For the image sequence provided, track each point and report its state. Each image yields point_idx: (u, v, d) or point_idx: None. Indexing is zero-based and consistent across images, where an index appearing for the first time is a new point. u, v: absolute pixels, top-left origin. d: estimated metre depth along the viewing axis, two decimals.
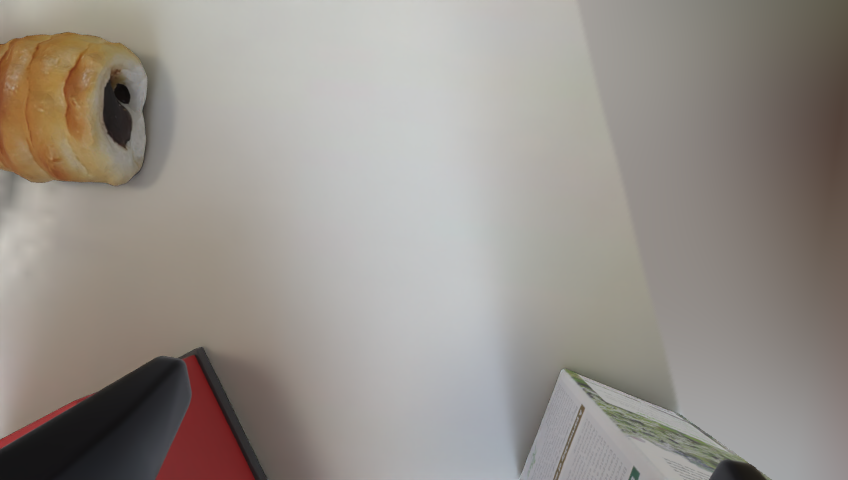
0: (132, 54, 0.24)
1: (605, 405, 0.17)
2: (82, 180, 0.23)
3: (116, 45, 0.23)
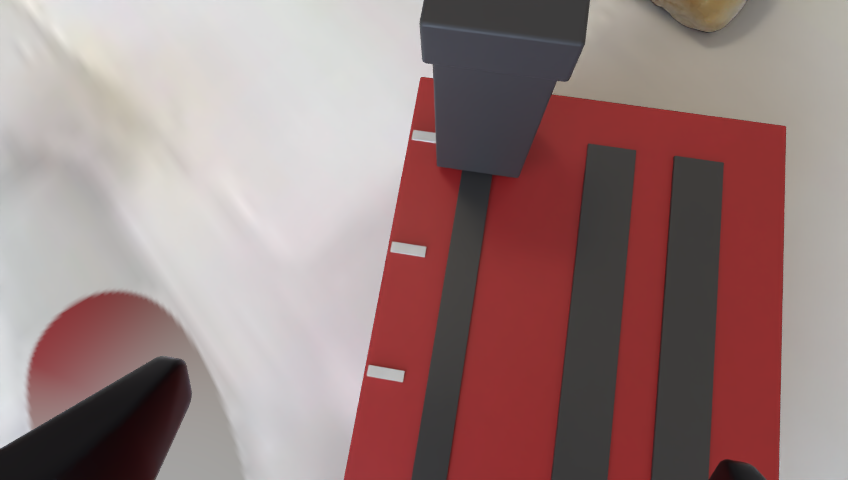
0: None
1: None
2: (695, 1, 0.24)
3: None
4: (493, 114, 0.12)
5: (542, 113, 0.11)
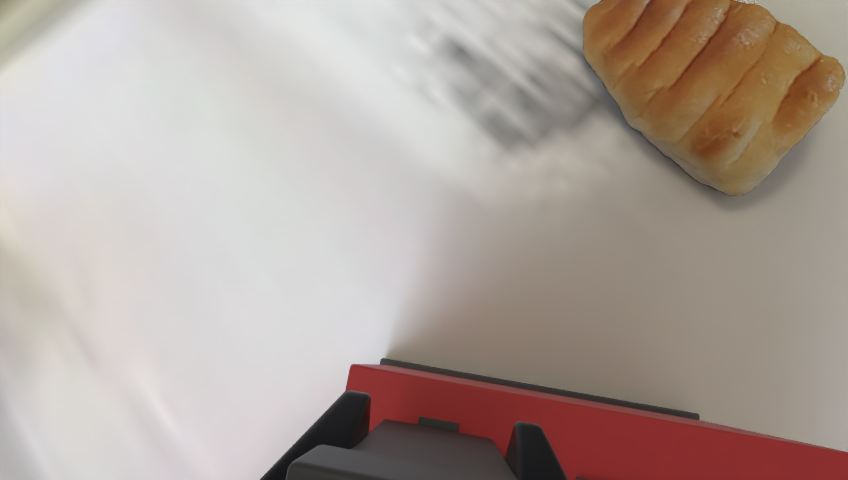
0: None
1: None
2: (713, 166, 0.19)
3: None
4: None
5: None
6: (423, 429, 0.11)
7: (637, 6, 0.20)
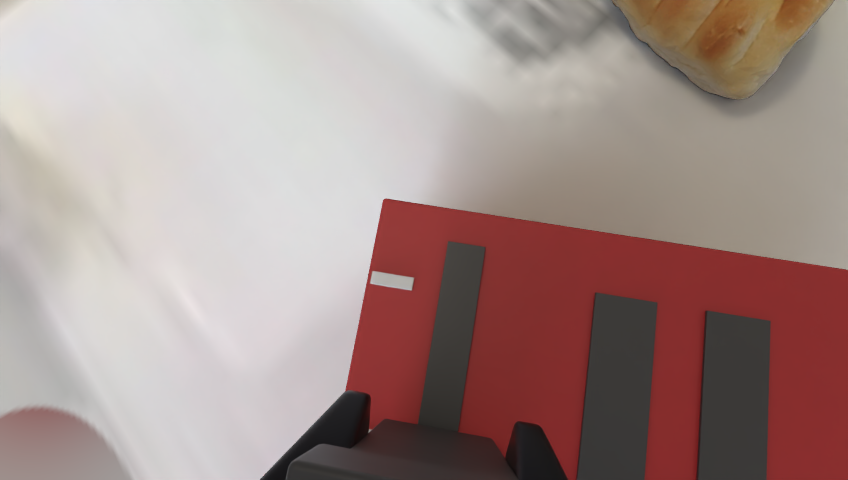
0: None
1: None
2: (718, 67, 0.20)
3: None
4: None
5: None
6: (423, 429, 0.11)
7: None
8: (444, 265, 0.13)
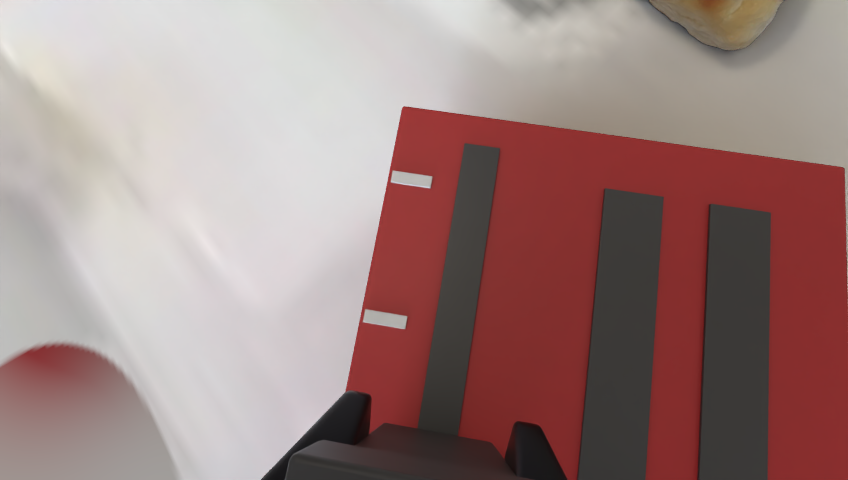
0: None
1: None
2: (717, 16, 0.21)
3: None
4: None
5: None
6: (423, 432, 0.11)
7: None
8: (461, 164, 0.13)
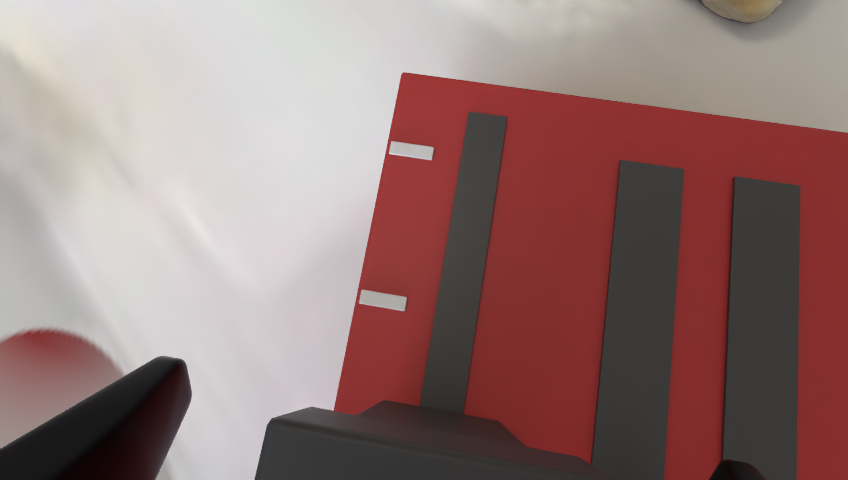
0: None
1: None
2: None
3: None
4: None
5: None
6: (425, 410, 0.10)
7: None
8: (465, 134, 0.12)
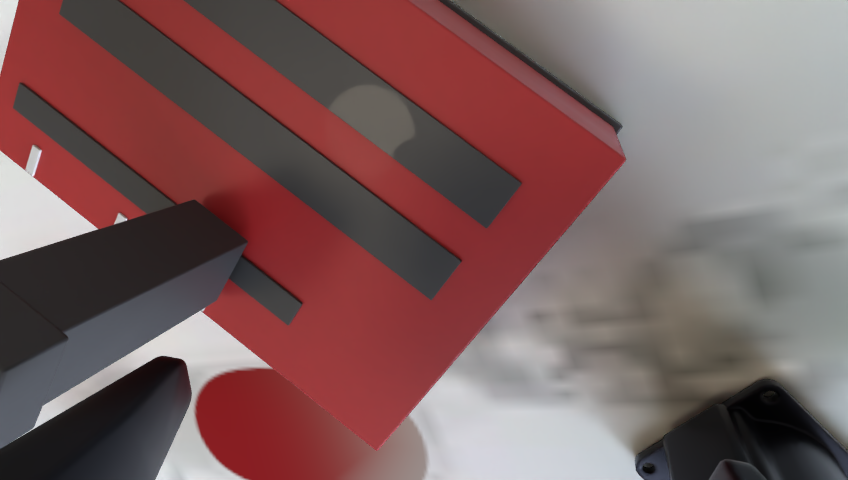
0: None
1: None
2: None
3: None
4: (131, 324, 0.12)
5: (133, 298, 0.11)
6: None
7: None
8: (27, 118, 0.16)
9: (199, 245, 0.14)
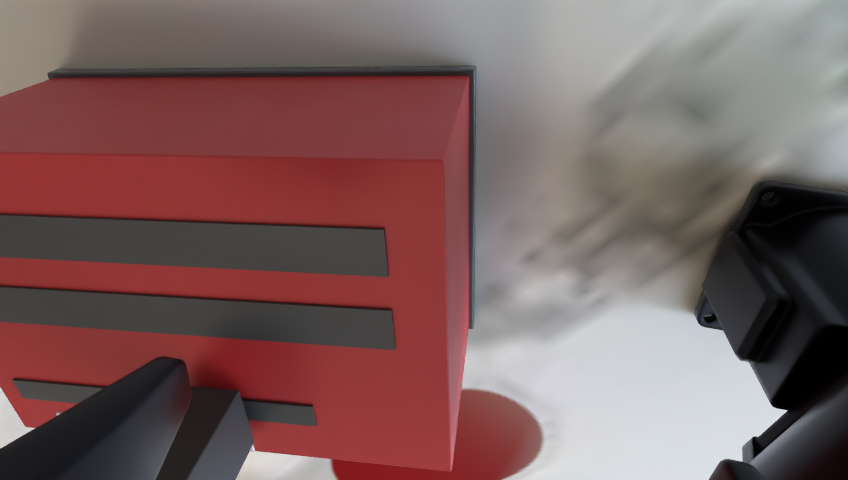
0: None
1: None
2: None
3: None
4: None
5: None
6: None
7: None
8: (37, 399, 0.19)
9: (199, 426, 0.15)
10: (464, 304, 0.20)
